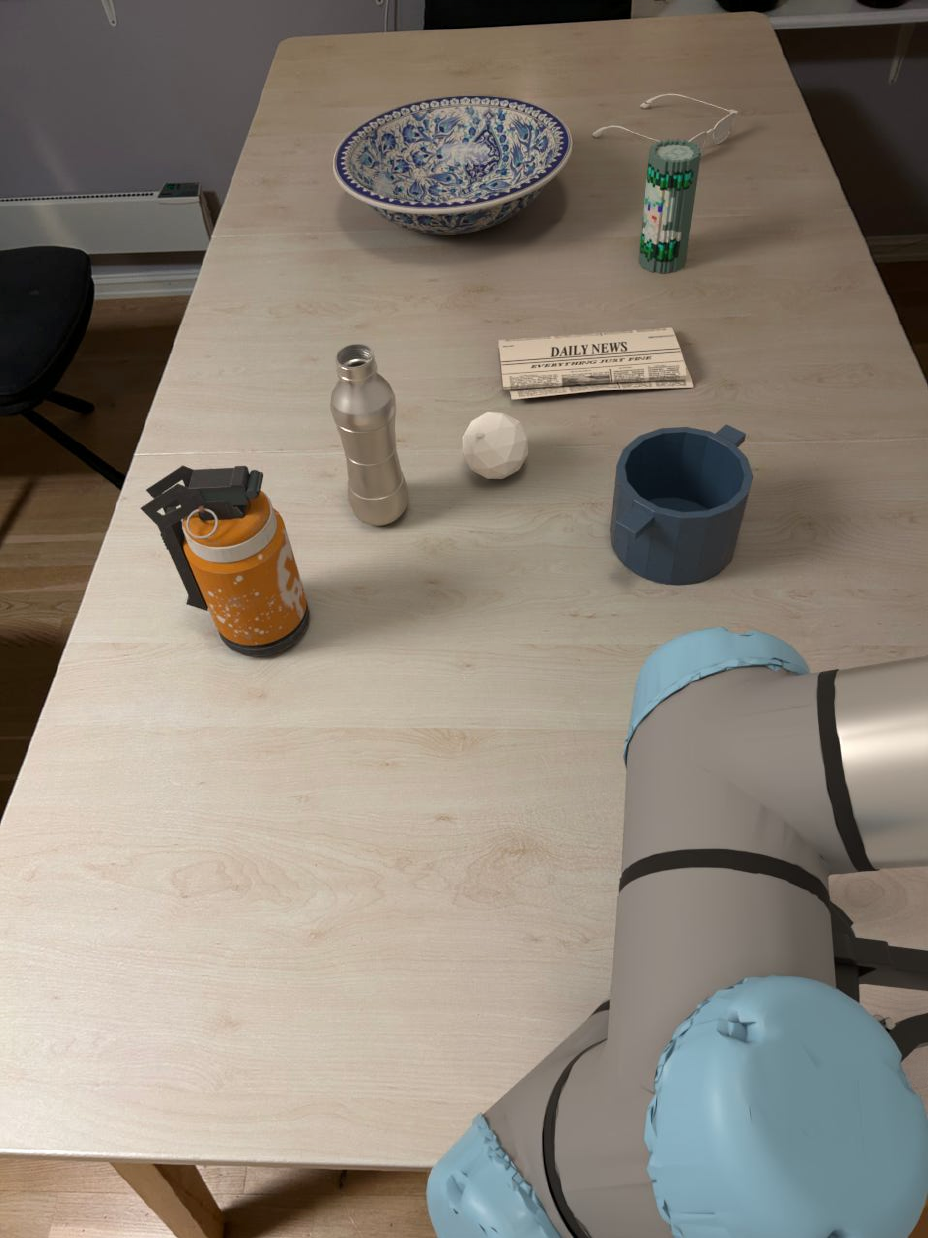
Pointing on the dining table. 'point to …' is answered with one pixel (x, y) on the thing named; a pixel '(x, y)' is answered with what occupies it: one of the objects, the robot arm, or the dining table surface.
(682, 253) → the can
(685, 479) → the pot
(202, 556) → the canister
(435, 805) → the dining table surface
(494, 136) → the ceramic bowl
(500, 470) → the ornament
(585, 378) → the newspaper
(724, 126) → the eyeglasses
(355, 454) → the metal water bottle
